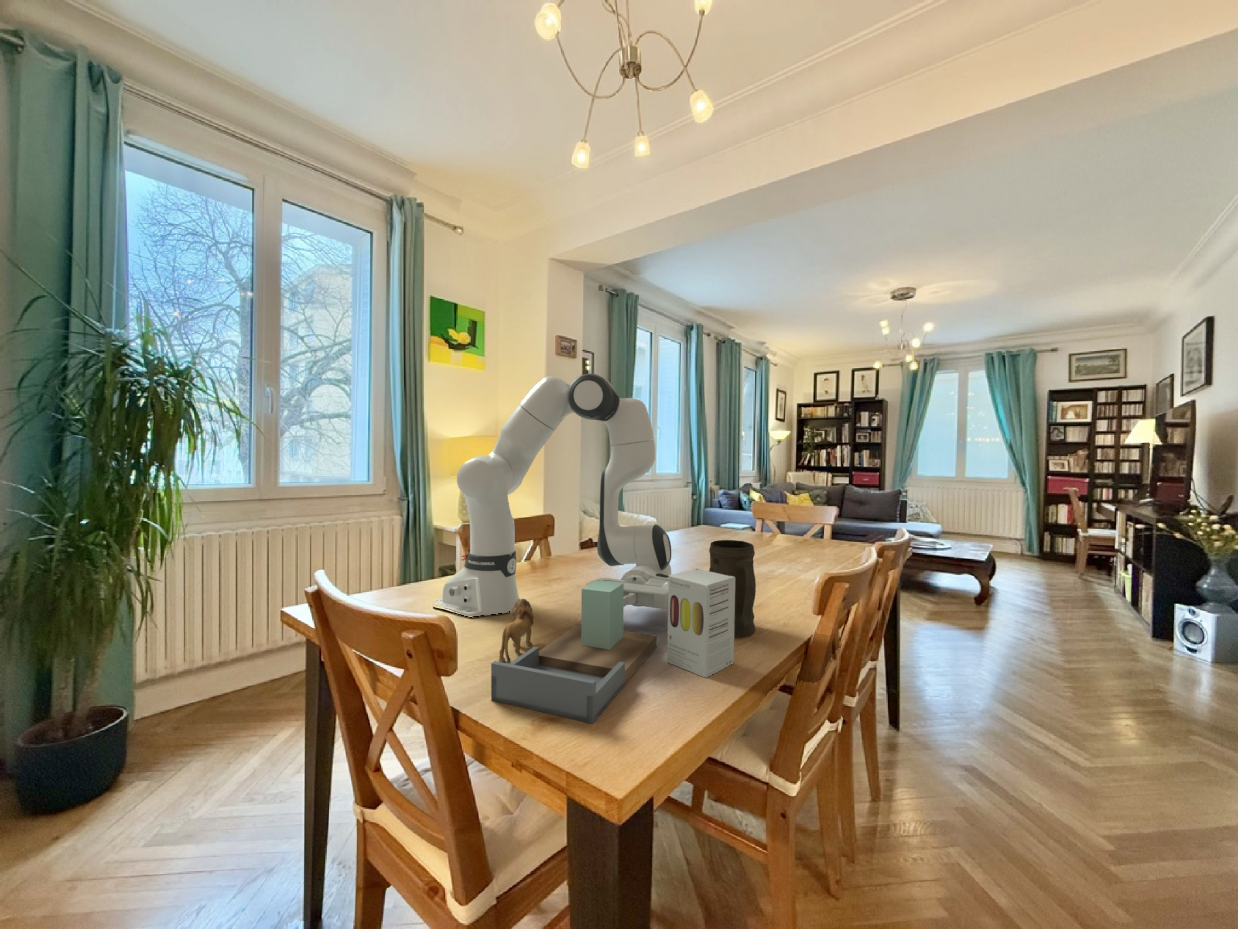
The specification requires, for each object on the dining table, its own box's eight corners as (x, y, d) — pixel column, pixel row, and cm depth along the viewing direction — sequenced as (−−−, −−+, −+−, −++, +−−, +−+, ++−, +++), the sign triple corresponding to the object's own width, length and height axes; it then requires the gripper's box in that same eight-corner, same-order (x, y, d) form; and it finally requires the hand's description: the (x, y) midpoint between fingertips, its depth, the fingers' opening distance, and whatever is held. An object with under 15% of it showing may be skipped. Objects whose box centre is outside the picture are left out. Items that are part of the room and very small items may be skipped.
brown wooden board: (534, 668, 92) (534, 654, 92) (577, 635, 109) (578, 623, 108) (624, 685, 85) (624, 671, 85) (656, 647, 102) (656, 635, 102)
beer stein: (695, 623, 116) (699, 539, 114) (733, 617, 120) (738, 536, 119) (735, 652, 102) (740, 557, 100) (777, 644, 106) (782, 553, 105)
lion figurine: (510, 637, 107) (510, 596, 107) (535, 637, 107) (535, 596, 107) (495, 667, 92) (495, 619, 92) (524, 667, 92) (524, 619, 92)
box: (491, 700, 80) (491, 663, 80) (534, 668, 92) (534, 635, 92) (592, 723, 73) (593, 683, 73) (624, 685, 85) (625, 650, 85)
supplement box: (665, 662, 95) (666, 574, 94) (694, 649, 101) (695, 567, 101) (707, 679, 88) (708, 584, 87) (735, 663, 94) (736, 575, 94)
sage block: (581, 644, 97) (581, 588, 96) (596, 632, 103) (596, 580, 103) (609, 649, 94) (610, 592, 94) (623, 637, 101) (623, 583, 100)
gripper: (599, 569, 122) (573, 582, 109) (680, 577, 115) (662, 593, 102) (599, 594, 122) (573, 611, 110) (680, 604, 115) (662, 623, 102)
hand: (617, 602), depth 106 cm, fingers closed
